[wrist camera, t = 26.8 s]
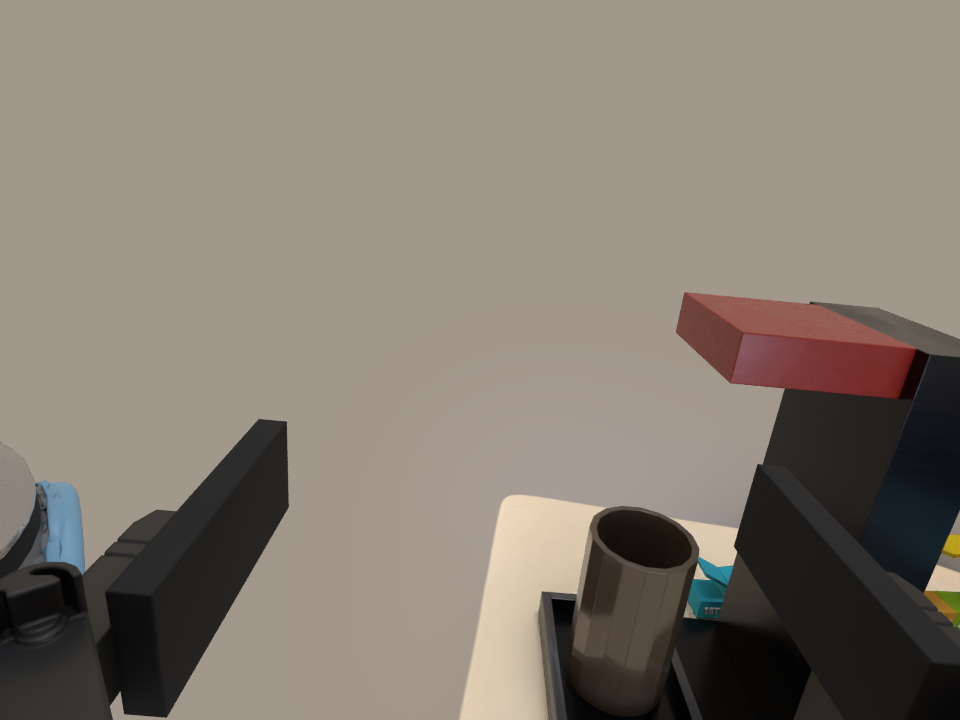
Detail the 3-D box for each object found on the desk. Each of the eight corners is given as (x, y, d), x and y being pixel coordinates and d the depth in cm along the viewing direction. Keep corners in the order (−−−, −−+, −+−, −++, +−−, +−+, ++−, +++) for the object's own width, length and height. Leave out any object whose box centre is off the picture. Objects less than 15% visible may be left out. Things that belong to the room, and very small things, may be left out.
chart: (697, 619, 53) (736, 479, 48) (684, 594, 56) (719, 460, 51) (1001, 633, 55) (1069, 500, 50) (973, 608, 58) (1034, 480, 53)
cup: (571, 712, 42) (600, 567, 37) (560, 631, 49) (583, 502, 45) (675, 721, 42) (715, 577, 37) (648, 639, 49) (679, 510, 45)
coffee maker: (553, 761, 39) (634, 330, 29) (538, 613, 52) (591, 278, 42) (851, 787, 39) (1037, 368, 29) (763, 633, 52) (871, 305, 42)
